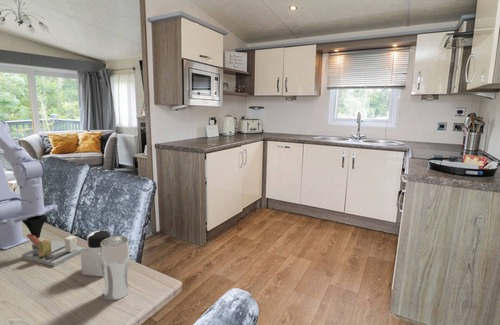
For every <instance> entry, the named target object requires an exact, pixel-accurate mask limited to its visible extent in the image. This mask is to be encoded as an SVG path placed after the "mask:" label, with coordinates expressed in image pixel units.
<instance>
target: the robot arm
mask: <svg viewBox="0 0 500 325" xmlns="http://www.w3.org/2000/svg"><path fill="white" fill-rule="evenodd" d="M0 149H1V150H2V151H3V158H4V159H5V160H6V161H7V163H9V165H10V166H11V167H12V168H13V170H12V172H13V175H14V178H15V181H16V185H17V186H18V187H19V193H18V192H16V191H13V190H11V189H12V188H11V186H10V184H9V180H8V178H7V175H6V172H5V169H4V166H3V163H2V160H1V158H0V250H4V251H5V250H8V249H12V248H14V247H17V246H18V245H22V244H24V243H26V242H29V241H30V239H29V238H28V237H27V238H26V237H24V233H23V231H24V230H23V224H24V225H25V226H26V227H27V229H28V231H29V232H30V233H29V234H31V235H35V236H36V237H37V238H38V239H39V238H41V233H42V230H43V226H44V224H45V222H46V220H47V215H46V214H47V213H51V212H57V211H58V210H59V209H58V208H59V207H58V205H57V204H49V205H45V202H44V200H45V198H44V189H43V180H42V178H43V177H44V176H45V175H46V167H45V165H44V163H43V161H42V160H41V159H37V158H33V157H32V156H31V155H30V153H29V152H28V151H27V150H26V149H25V148H24V147H23V146H21V145H17V144H16V143H15V141H14V140H13V139H12V137H11V135H10V126H9V124H8V123H7V121H5V120H3V119H0ZM22 223H23V224H22Z"/></svg>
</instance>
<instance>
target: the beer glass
mask: <svg viewBox="0 0 500 325" xmlns="http://www.w3.org/2000/svg"><path fill="white" fill-rule="evenodd" d="M130 250H131V249H130V242H129V238H128V237H126V236H124V235H115V236H110V237H109V238H106V239H104V240H103V241H102V242H101V249H100V261H101V267H102V271H103V275H104V277H103V278H104V292H103V293H104V294H103V297H104V299H106V300H108V301H117V300H121V299H123V298H125V297H126V296H127V295H128V294H129V291H130V288H129V287H130V286H129V283H128V273H129V267H130V256H131V253H130V252H131V251H130Z"/></svg>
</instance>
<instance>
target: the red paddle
mask: <svg viewBox="0 0 500 325" xmlns="http://www.w3.org/2000/svg"><path fill="white" fill-rule="evenodd" d="M26 237H27V239H30V240H29V241H30V242H31V243H32V244H34V245H35V248H38V243H39V242H41V241H40V239H39V238H37V237H36V236H35V235H31V233H28V234H27V235H26Z"/></svg>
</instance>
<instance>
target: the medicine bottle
mask: <svg viewBox="0 0 500 325" xmlns="http://www.w3.org/2000/svg"><path fill="white" fill-rule="evenodd" d="M109 237H111V233H110V232H109V231H107V230H95V231H93V232H91V233H89V234H88V235H87V236H86V239H87V248H85V250H84V251H83V252H81V253H80V264H81V274H82V275H83V276H91V277H92V276H93V277H99V278H100V277H102V278H104V275H103V271H102V267H101V261H100V249H101V242H102V241H103V240H104V239H106V238H109Z"/></svg>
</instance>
